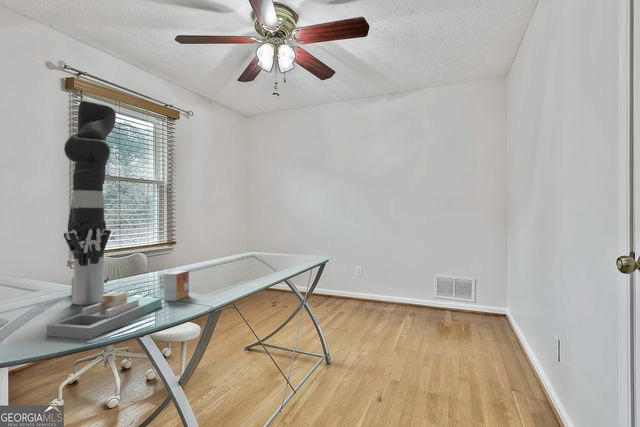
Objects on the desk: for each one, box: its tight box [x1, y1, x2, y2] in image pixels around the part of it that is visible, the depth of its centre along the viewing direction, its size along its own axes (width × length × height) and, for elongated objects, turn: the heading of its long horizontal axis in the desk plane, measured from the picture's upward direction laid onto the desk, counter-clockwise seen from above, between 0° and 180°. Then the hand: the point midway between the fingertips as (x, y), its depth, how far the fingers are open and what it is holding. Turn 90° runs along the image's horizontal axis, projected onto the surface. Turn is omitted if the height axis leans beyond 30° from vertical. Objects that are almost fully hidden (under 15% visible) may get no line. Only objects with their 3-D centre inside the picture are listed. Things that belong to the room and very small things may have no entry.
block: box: [100, 290, 128, 311], centre depth 99 cm, size 5×5×5 cm
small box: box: [163, 269, 190, 302], centre depth 122 cm, size 8×6×10 cm
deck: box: [46, 296, 163, 340], centre depth 98 cm, size 14×29×5 cm, turn 171°
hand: (89, 264), depth 90 cm, fingers open, 3 cm apart
